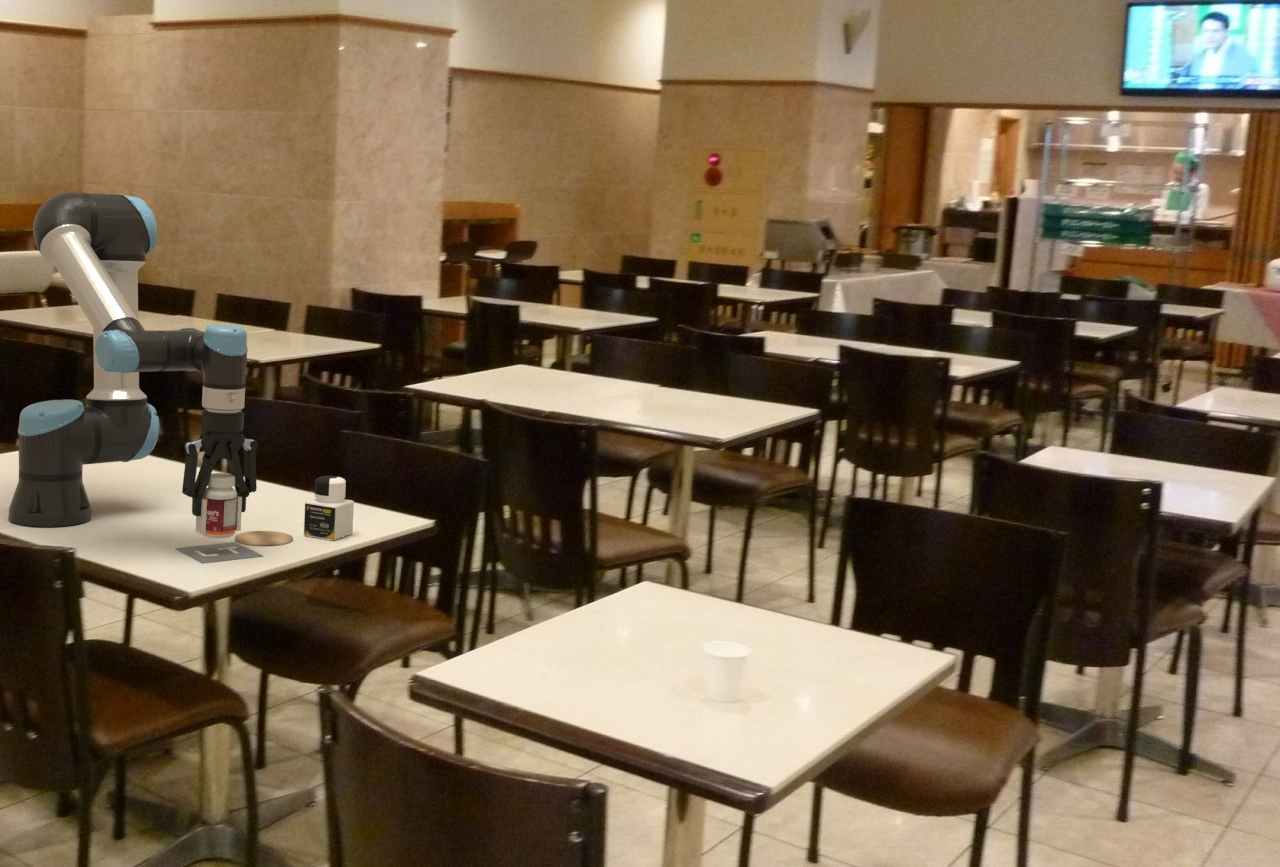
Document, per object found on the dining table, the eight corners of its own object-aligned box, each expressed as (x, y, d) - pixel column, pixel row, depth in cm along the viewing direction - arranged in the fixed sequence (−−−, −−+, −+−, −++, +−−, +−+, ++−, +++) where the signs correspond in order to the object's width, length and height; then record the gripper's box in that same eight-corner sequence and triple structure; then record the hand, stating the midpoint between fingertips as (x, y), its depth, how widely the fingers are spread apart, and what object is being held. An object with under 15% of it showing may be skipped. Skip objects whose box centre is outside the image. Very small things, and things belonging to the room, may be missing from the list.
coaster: (250, 548, 263) (250, 546, 263) (225, 536, 271) (225, 534, 271) (302, 542, 270) (302, 540, 270) (276, 530, 278) (276, 528, 278)
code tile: (202, 564, 250) (202, 562, 249) (174, 549, 258) (175, 547, 258) (263, 557, 257) (263, 555, 257) (235, 543, 266) (235, 541, 266)
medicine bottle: (303, 536, 275) (305, 477, 273) (322, 529, 282) (325, 472, 280) (333, 541, 273) (336, 482, 271) (353, 534, 280) (355, 476, 278)
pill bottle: (193, 535, 256) (196, 475, 254) (215, 528, 262) (217, 470, 260) (220, 540, 254) (223, 480, 252) (242, 534, 260) (244, 475, 258)
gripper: (181, 414, 245) (176, 540, 249) (280, 411, 257) (274, 530, 261) (164, 407, 250) (160, 530, 254) (262, 404, 263) (256, 521, 267)
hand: (218, 530), depth 258 cm, fingers closed on pill bottle, 6 cm apart
